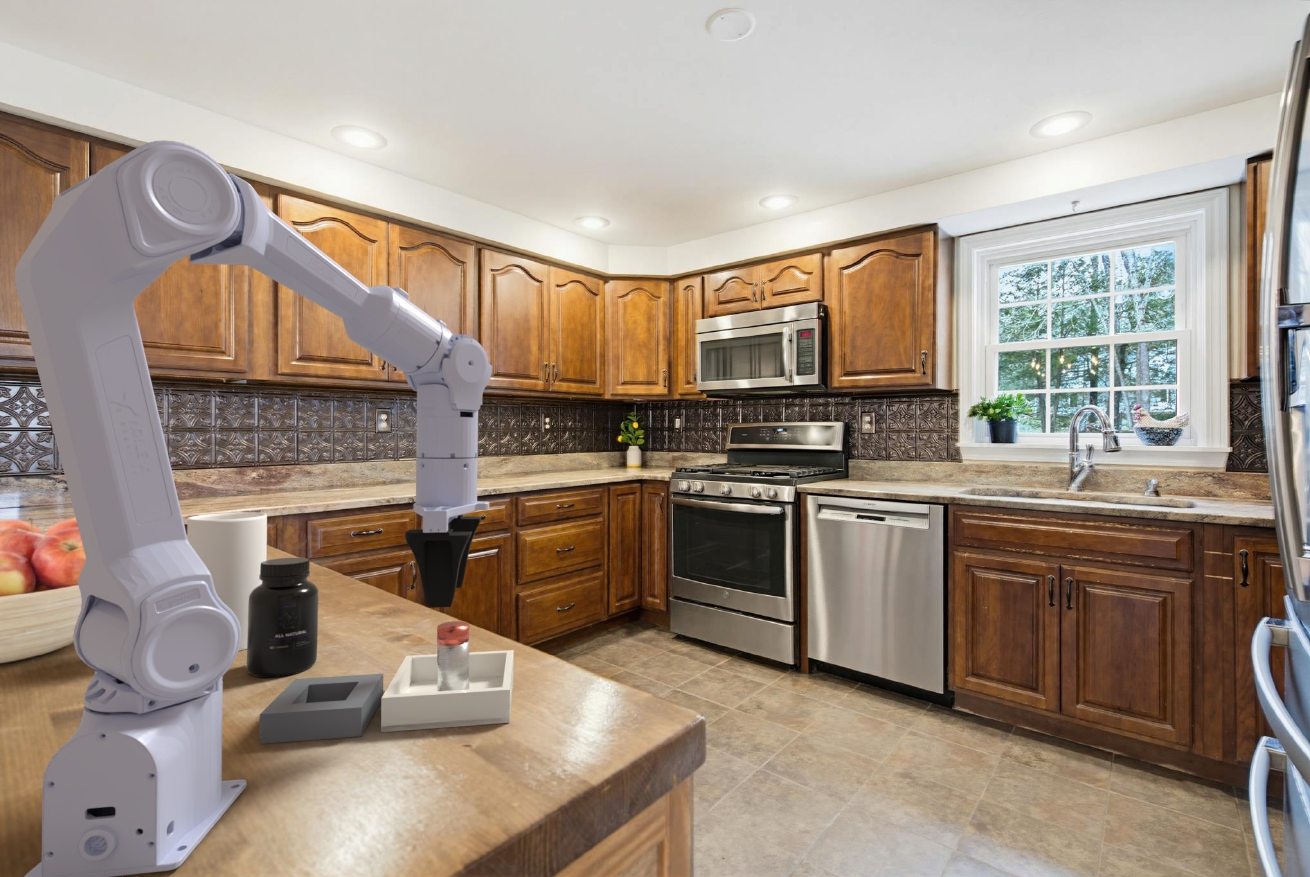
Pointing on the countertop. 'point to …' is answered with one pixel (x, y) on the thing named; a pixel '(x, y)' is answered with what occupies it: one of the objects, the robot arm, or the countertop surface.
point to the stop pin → (453, 656)
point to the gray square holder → (322, 708)
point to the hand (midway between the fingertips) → (445, 596)
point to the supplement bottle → (282, 619)
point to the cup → (232, 556)
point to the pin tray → (449, 694)
